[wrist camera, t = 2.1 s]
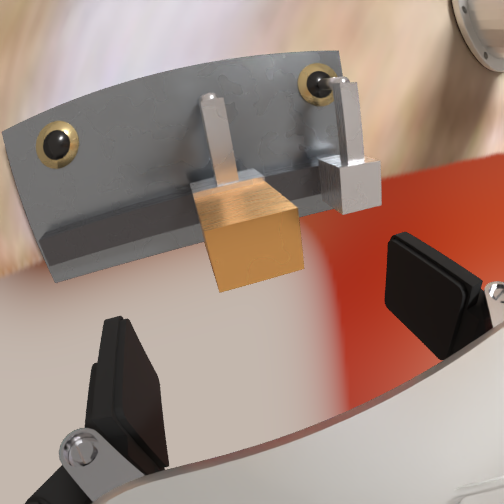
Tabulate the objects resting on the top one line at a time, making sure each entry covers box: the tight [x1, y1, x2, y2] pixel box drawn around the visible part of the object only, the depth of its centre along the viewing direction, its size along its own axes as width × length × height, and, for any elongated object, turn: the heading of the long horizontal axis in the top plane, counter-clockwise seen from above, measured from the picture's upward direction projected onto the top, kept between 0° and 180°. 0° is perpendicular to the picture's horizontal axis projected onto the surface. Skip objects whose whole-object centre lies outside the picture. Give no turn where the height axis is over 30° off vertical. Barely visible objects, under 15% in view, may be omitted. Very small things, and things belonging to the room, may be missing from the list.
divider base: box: [2, 51, 381, 283], centre depth 19 cm, size 24×12×6 cm, turn 100°
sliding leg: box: [190, 92, 304, 292], centre depth 16 cm, size 4×9×8 cm, turn 10°
